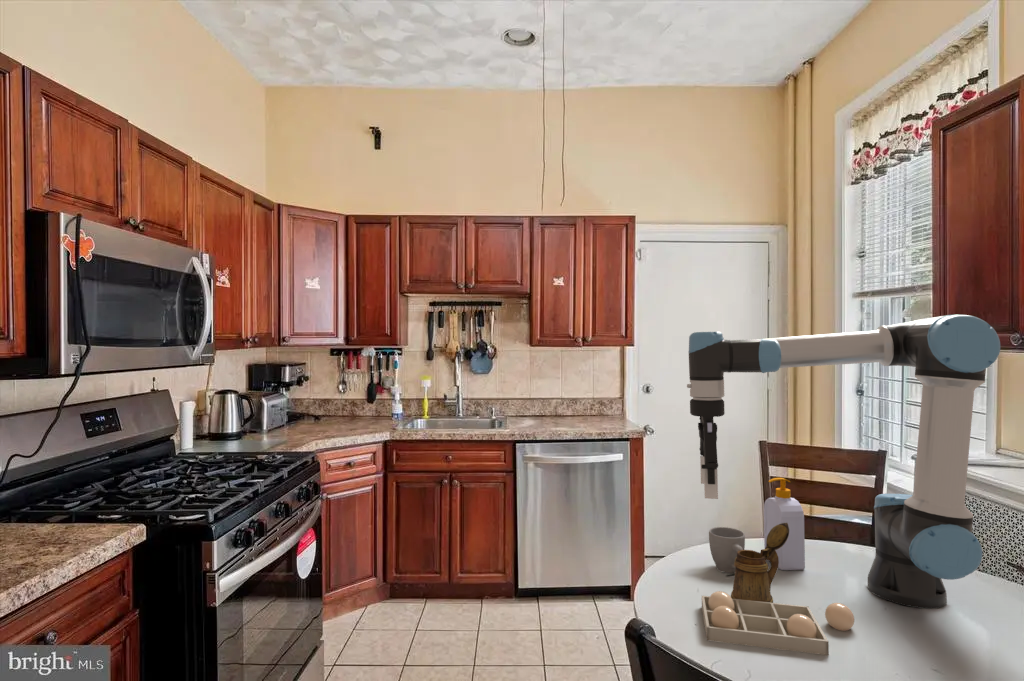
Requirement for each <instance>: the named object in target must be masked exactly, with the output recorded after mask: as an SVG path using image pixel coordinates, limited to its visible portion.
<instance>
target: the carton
mask: <svg viewBox="0 0 1024 681" xmlns="http://www.w3.org/2000/svg"><path fill="white" fill-rule="evenodd" d="M710 596H711V595H710ZM710 596H708V595H701V611H702V618H703V623H704V628H705V629H704V631H705V636H706V641H710V642H716V643H724V644H725V643H726V644H734V645H740V646H741V645H742V646H750V647H758V648H765V649H772V650H773V649H774V650H775V649H776V650H782V651H783V650H784V651H792V652H799V653H808V654H815V655H823V656H829V655H830V654H829V653H830V651H829V649H830V648H829V647H830V645H829V640H828V638H827V636H826V635H825V633H824V631H823V629H822V627H821V626H820V624H819V622H818V621H817V619H816V617H815V615H814V614H813V612H812V610H811V608H810V607H809V606H807V605H798V604H797V605H796V604H787V603H781V602H780V603H779V602H773V603H770V602H760V601H750V600H741V599H733V602H734V611H735V613H736V614H737V616H738V619H739V626H738V629H737V630H736V629H727V628H719V627H714V626H713V624H712V620H711V616H712V612H713V611H711V610H710V608H709V604H708V602H709V597H710ZM794 614H803V615H806V616H807V617H809V618H810V619H811V620H812V621H813V622H814V624H815V626H816V630H817V634H816V637H815V639H813V638H805V637H796V636H790V635H789V633H788V631H787V621H788V619H789V618H790V617H791V616H792V615H794Z"/></svg>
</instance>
